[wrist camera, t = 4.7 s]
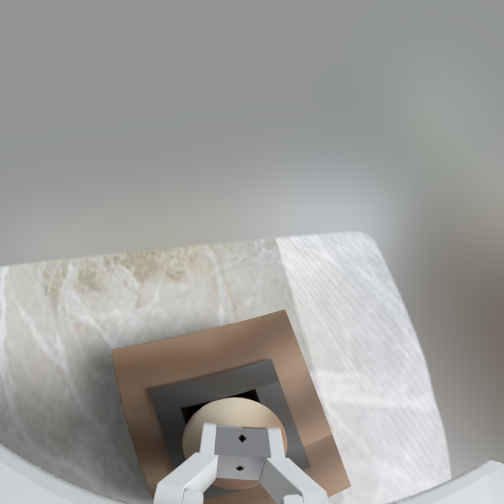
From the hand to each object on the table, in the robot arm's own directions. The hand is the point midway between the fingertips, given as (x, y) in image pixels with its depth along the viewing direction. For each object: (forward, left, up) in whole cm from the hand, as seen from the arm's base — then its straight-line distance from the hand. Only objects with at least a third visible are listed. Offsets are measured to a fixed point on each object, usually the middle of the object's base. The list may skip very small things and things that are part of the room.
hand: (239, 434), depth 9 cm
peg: (-1, 0, -11) cm, 11 cm away
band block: (-1, 0, -17) cm, 17 cm away
